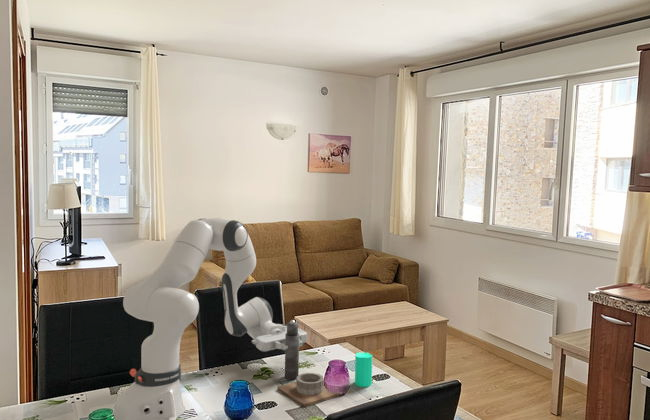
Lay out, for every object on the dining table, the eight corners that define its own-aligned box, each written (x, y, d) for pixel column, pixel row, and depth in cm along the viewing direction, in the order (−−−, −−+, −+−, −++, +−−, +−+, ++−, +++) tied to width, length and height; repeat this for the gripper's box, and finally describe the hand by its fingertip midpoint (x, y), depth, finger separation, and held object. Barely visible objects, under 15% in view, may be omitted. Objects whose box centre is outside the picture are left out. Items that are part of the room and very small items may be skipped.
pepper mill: (289, 381, 179) (290, 322, 178) (282, 376, 183) (283, 319, 182) (301, 378, 182) (302, 320, 181) (293, 373, 186) (294, 317, 185)
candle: (372, 387, 176) (373, 353, 175) (355, 386, 176) (356, 353, 175) (371, 380, 182) (371, 348, 181) (354, 379, 182) (355, 347, 181)
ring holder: (304, 407, 159) (304, 392, 159) (277, 389, 172) (277, 375, 172) (342, 394, 169) (343, 380, 169) (314, 379, 182) (314, 365, 182)
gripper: (249, 332, 186) (269, 342, 175) (295, 323, 198) (315, 332, 187) (249, 349, 186) (268, 360, 175) (294, 339, 199) (315, 349, 188)
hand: (293, 345), depth 181 cm, fingers closed on pepper mill, 5 cm apart
